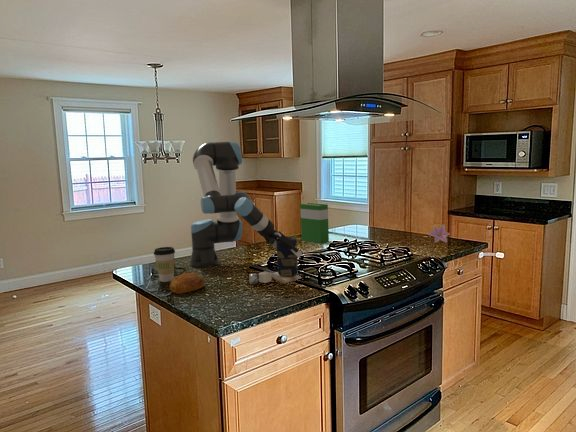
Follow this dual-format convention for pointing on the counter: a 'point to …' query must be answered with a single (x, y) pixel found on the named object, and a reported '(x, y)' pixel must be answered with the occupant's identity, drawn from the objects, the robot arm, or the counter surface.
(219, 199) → the robot arm
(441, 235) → the lily
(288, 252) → the canister
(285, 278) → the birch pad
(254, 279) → the metal slug
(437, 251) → the counter surface
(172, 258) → the coffee cup
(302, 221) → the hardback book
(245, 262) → the counter surface
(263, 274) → the ceramic cube
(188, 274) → the bread loaf
